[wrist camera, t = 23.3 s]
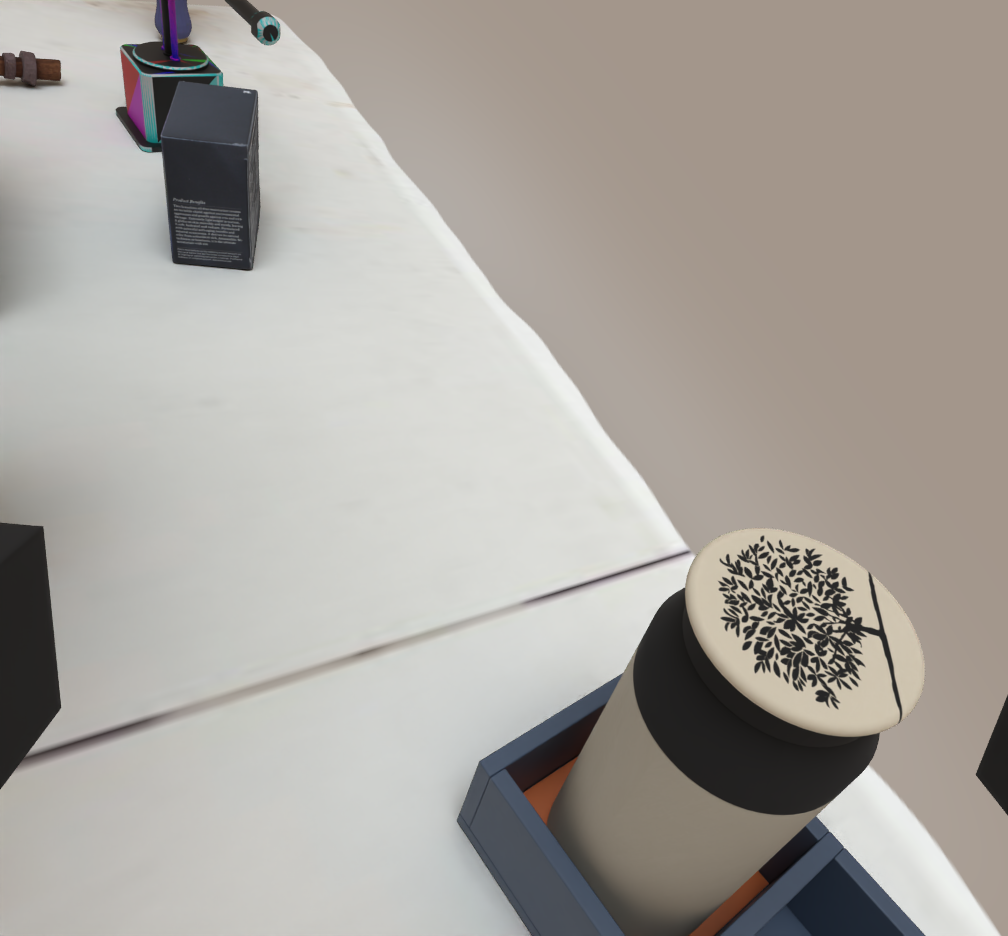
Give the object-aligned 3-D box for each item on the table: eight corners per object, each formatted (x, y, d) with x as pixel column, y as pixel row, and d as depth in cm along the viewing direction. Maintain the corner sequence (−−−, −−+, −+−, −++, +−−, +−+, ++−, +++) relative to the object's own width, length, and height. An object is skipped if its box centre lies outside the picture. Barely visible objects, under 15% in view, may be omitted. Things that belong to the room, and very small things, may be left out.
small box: (183, 200, 72) (175, 76, 65) (261, 208, 73) (261, 88, 66) (167, 263, 64) (155, 131, 57) (253, 271, 66) (252, 144, 59)
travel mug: (522, 905, 34) (662, 672, 22) (567, 743, 40) (698, 489, 28) (703, 982, 34) (949, 783, 22) (722, 805, 40) (925, 571, 27)
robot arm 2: (105, 98, 83) (66, -208, 66) (196, 96, 88) (180, -191, 71) (189, 219, 70) (166, -126, 53) (291, 209, 74) (299, -111, 58)
